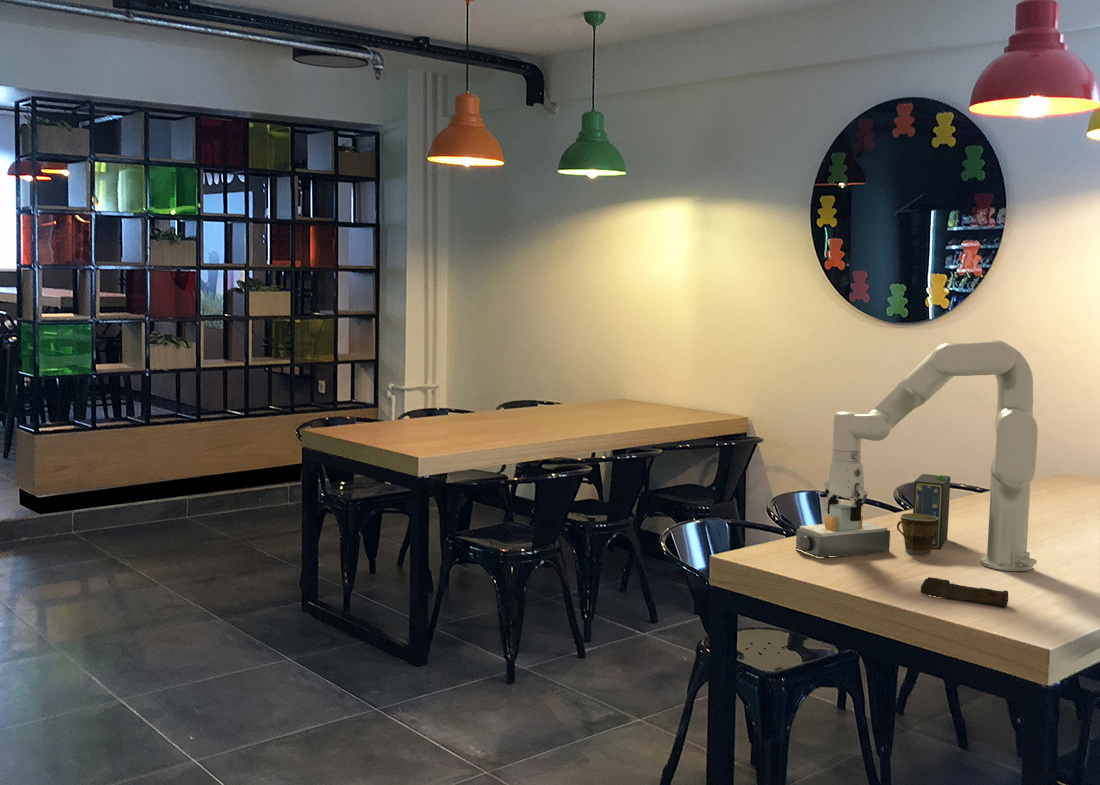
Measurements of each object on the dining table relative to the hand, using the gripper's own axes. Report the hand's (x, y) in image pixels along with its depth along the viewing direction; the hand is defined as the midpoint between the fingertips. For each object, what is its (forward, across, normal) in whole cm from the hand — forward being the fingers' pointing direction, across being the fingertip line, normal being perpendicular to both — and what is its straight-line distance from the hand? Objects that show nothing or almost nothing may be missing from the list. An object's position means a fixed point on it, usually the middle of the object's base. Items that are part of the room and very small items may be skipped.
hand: (844, 517), depth 285 cm
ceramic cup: (+10, -8, -18) cm, 22 cm away
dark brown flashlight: (+10, -50, +5) cm, 51 cm away
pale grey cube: (+3, 0, 0) cm, 3 cm away
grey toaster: (+10, 0, 0) cm, 10 cm away
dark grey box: (+10, 0, -31) cm, 33 cm away
